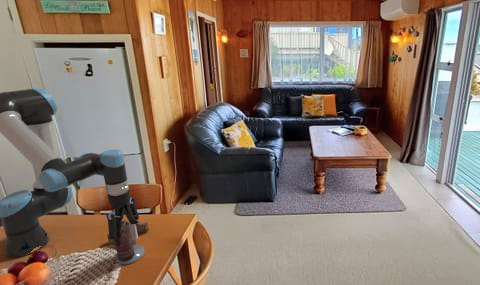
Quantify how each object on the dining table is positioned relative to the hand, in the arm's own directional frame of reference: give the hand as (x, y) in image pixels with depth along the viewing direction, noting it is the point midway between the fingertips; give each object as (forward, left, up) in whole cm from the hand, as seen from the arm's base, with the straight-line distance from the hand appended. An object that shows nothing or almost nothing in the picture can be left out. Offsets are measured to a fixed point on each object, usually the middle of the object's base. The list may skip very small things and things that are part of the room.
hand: (128, 244), depth 113 cm
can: (0, -2, -4) cm, 5 cm away
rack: (-8, +11, -5) cm, 14 cm away
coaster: (0, 0, -5) cm, 5 cm away
